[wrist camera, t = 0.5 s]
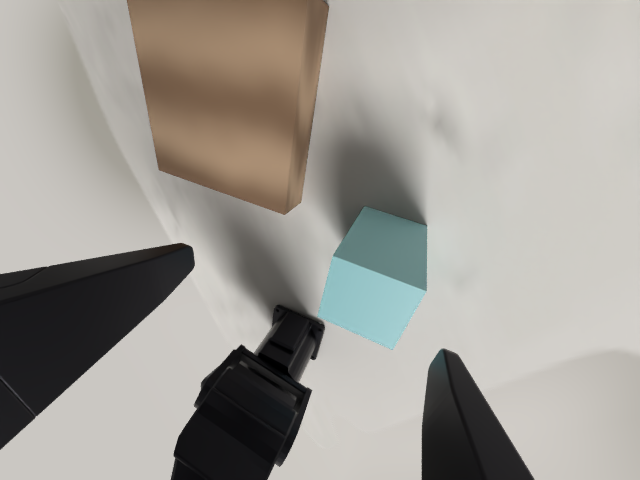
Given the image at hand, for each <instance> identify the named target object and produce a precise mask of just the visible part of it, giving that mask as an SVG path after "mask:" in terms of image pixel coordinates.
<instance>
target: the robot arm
mask: <svg viewBox="0 0 640 480" xmlns="http://www.w3.org/2000/svg"><path fill="white" fill-rule="evenodd" d="M194 266H195V261H194V253H193V248H192V247H191V246H189V245H186V244H184V243H177V244H172V245H166V246H160V247H155V248H149V249H143V250H138V251H132V252H126V253H121V254H115V255H109V256H103V257H98V258H92V259H86V260H81V261H75V262H70V263H64V264H58V265H52V266H49V267H41V268H35V269H29V270H23V271H17V272H11V273H5V274H0V450H1V449H2V448H3V447H4V446H5V445H6V444H7V443H8V442H9V441H10V440H12V439H13V438H14V437H15V436H16V435H17V434H18V433H19V432H20V431H21V430H22V429H23V428H25V427H26V426H27V425H28V424H29V423H30V422H31V421H32V420H33V419H35V417H36V416H38V415H39V414H40V413H41V412H42V411H43V410H44V409H45V408H46V407H48V406H49V405H50V404H51V403H52V402H53V401H54V400H55V399H56V398H57V397H59V396H60V395H61V394H62V393H63V392H64V391H65V390H66V389H67V388H69V387H70V386H71V385H72V384H73V383H74V382H75V381H76V380H77V379H78V378H80V377H81V376H82V375H83V374H84V373H85V372H86V371H87V370H88V369H89V368H91V367H92V366H93V365H94V364H95V363H96V362H97V361H98V360H99V359H100V358H102V357H103V356H104V355H105V354H106V353H107V352H108V351H109V350H110V349H112V347H114V346H115V345H116V344H117V343H118V342H119V341H120V340H121V339H123V337H125V336H126V335H127V334H128V333H129V332H130V331H131V330H132V329H134V328H135V327H136V326H137V325H138V324H139V323H140V322H141V321H142V320H143V319H144V318H145V317H147V316H148V315H149V314H150V313H151V312H152V311H153V310H154V309H156V307H158V306H159V305H160V304H161V303H162V302H163V301H164V300H165V299H166V298H167V297H168V296H169V295H170V294H171V293H172V292H173V291H174V290H175V288H176V287H177V286H178V285H179V284H180V283H181V282H182V281H183V279H185V278H186V277H187V275H188V274H189V273H190V272H191V271H192V270H193V268H194ZM324 330H325V327H324V326H323V325H322V324H319V323H317V322H315V321H313V320H311V319H308V318H306V317H304V316H302V315H300V314H297V313H295V312H293V311H291V310H289V309H286V308H284V307H282V306H280V305H276V306H275V308H274V313H273V323H272V328H271V330H270V331H269V332H268V334H267V335H266V337H265V338H264V340H263V341H262V342H261V344H260V345H259V347H258V348H257V349H256V351H255V352H254V353H252V352H251V351H249V350H248V349H246V348H245V346H243V345H242V344H241V345H240V346H239V347H238V348H237V349H236V350H233V351H232V352H231V353H230V355H229V356H228V357H227V358H226V359H225V360H224V362H223V363H222V364H221V365H220V366H218V367H217V368H216V369H215V370H214V371H212V373H210V374H209V375H208V376H207V377H205V379H204V380H203V381H202V382H201V391H200V393H199V396H198V398H197V400H196V401H195V404H194V407H196V408H197V410H196V411H195V413H194V414H193V416H192V417H191V418H190V420H189V421H188V423H187V424H186V426H185V427H184V429H183V430H182V432H181V434H180V435H179V437H178V440H177V444H176V447H175V450H174V457H175V462H174V467H173V472H172V476H171V480H267V479H268V477H269V475H270V473H271V471H272V469H273V467H274V464H276V465H278V466H279V467H280V466H281V465H282V464H283V462H284V460H285V459H286V457H287V455H288V453H289V451H290V449H291V447H292V445H293V442H294V440H295V438H296V435H297V433H298V430H299V428H300V425H301V422H302V419H303V416H304V413H305V410H306V407H307V404H308V401H309V398H310V395H311V392H312V390H311V389H309V388H308V387H307V388H306V387H305V386H303V385H301V384H300V383H299V381H300V379H301V377H302V374H303V372H304V370H305V368H306V366H307V364H308V362H309V360H310V359H312V360H315V359H316V357H317V354H318V351H319V348H320V344H321V341H322V337H323V334H324ZM422 480H534V478H533V476H532V475H531V473H530V471H529V470H528V468H527V466H526V465H525V463H524V461H523V460H522V458H521V457H520V455H519V453H518V452H517V450H516V448H515V447H514V445H513V443H512V442H511V440H510V439H509V437H508V435H507V434H506V432H505V430H504V429H503V427H502V425H501V424H500V422H499V421H498V419H497V417H496V416H495V414H494V412H493V411H492V410H491V408H490V406H489V404H488V403H487V401H486V399H485V398H484V396H483V394H482V393H481V391H480V390H479V388H478V386H477V385H476V383H475V381H474V380H473V378H472V376H471V375H470V373H469V372H468V370H467V368H466V367H465V365H464V363H463V362H462V360H461V358H460V357H459V356H458V355H457V354H456V353H454V352H452V351H449V350H447V349H441V350H440V351H439V352H438V354H437V355H436V357H435V358H434V360H433V361H432V363H431V364H430V366H429V370H428V377H427V386H426V395H425V403H424V412H423V422H422Z"/></svg>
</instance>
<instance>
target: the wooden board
mask: <svg viewBox="0 0 640 480" xmlns="http://www.w3.org/2000/svg"><path fill="white" fill-rule="evenodd" d="M127 3H128V9H129V14H130V19H131V25H132V30H133V35H134V41H135V46H136V51H137V56H138V62H139V67H140V72H141V78H142V83H143V88H144V94H145V99H146V104H147V110H148V115H149V120H150V125H151V131H152V136H153V141H154V147H155V152H156V157H157V163H158V168H159V170H160V171H163V172H166V173H168V174H171V175H174V176H177V177H180V178H183V179H185V180H188V181H191V182H194V183H197V184H199V185H202V186H205V187H208V188H211V189H213V190H216V191H219V192H222V193H225V194H227V195H230V196H233V197H236V198H239V199H242V200H244V201H247V202H250V203H253V204H256V205H258V206H261V207H264V208H267V209H270V210H272V211H275V212H278V213H281V214H284V215H285V214H286V213H288V212H289V211H290V210H292V209H293V208H294V207H296V206H297V205H298V204H300V203H301V198H302V191H303V184H304V178H305V171H306V164H307V157H308V150H309V143H310V136H311V129H312V122H313V115H314V108H315V101H316V94H317V87H318V80H319V73H320V66H321V59H322V52H323V45H324V38H325V31H326V24H327V17H328V10H329V6H328V5H327V4H326V3H325V2H324V1H323V0H127Z"/></svg>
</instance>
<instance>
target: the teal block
mask: <svg viewBox="0 0 640 480" xmlns="http://www.w3.org/2000/svg"><path fill="white" fill-rule="evenodd" d="M426 291H427V226H426V225H423V224H419V223H416V222H413V221H410V220H407V219H404V218H401V217H398V216H394V215H391V214H388V213H385V212H382V211H379V210H376V209H372V208H369V207H366V206H364V208H363V209H362V211H361V212H360V214H359V215H358V217H357V219H356V220H355V222H354V223H353V225H352V226H351V228H350V230H349V231H348V233H347V234H346V236H345V237H344V239H343V241H342V242H341V244H340V245H339V247H338V248H337V250H336V252H335V253H334V255H333V257H332V261H331V265H330V269H329V273H328V277H327V281H326V285H325V288H324V292H323V296H322V300H321V304H320V308H319V312H318V316H317V317H320V318H322V319H324V320H326V321H329V322H331V323H333V324H335V325H337V326H340V327H342V328H344V329H346V330H349V331H351V332H353V333H355V334H358V335H360V336H362V337H364V338H367V339H369V340H371V341H373V342H376V343H378V344H380V345H382V346H385V347H387V348H389V349H391V350H393V349H394V347H395V345H396V344H397V342H398V340H399V338H400V337H401V335H402V333H403V331H404V330H405V328H406V326H407V324H408V323H409V321H410V319H411V317H412V316H413V314H414V312H415V310H416V309H417V307H418V305H419V303H420V302H421V300H422V298H423V297H424V295H425V293H426Z"/></svg>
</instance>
